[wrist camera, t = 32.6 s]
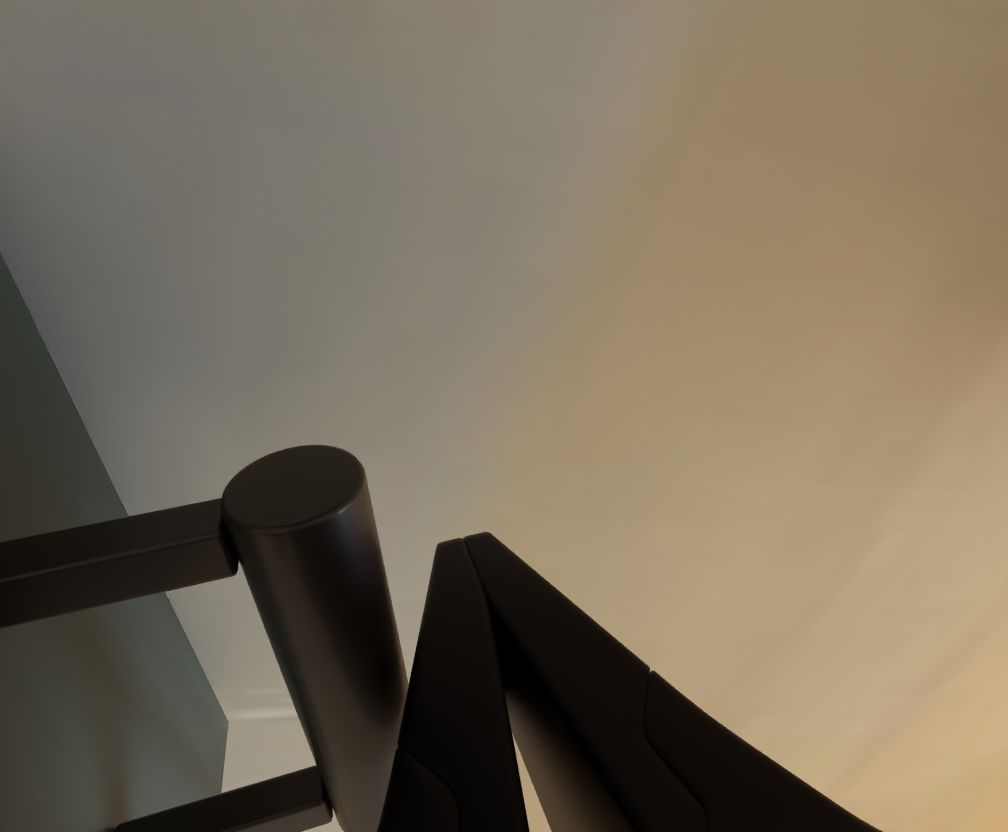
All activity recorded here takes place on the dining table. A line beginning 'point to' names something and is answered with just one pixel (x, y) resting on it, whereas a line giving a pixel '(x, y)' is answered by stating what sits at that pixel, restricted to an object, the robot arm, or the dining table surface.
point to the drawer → (177, 628)
